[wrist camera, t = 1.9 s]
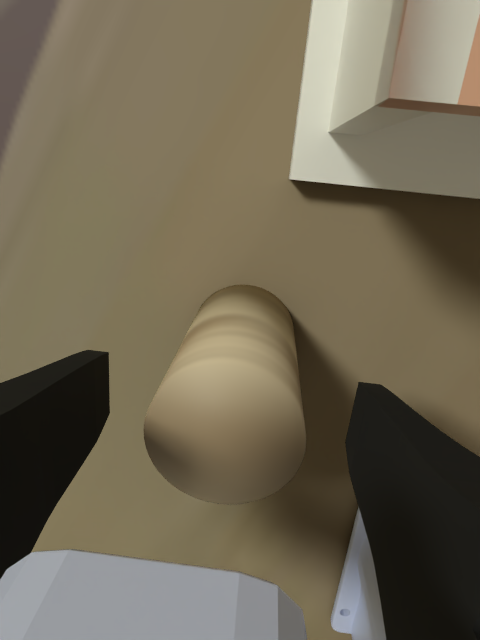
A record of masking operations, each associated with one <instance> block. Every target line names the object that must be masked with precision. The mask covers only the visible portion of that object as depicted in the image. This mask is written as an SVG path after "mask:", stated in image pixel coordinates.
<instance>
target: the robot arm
mask: <svg viewBox="0 0 480 640" xmlns="http://www.w3.org/2000/svg"><path fill="white" fill-rule="evenodd" d="M109 413H110V407H109V352H101V351H93V350H86V351H82V352H79V353H76V354H73V355H71V356H68V357H66V358H63V359H61V360H59V361H56V362H54V363H51V364H49V365H46V366H44V367H42V368H39V369H37V370H34V371H32V372H29V373H27V374H24V375H21V376H19V377H16V378H13V379H10V380H8V381H5V382H2V383H0V640H307V635H306V629H305V623H304V617H303V611H302V609H301V608H300V607H299V606H298V605H297V604H296V603H295V602H294V601H293V600H292V599H291V598H290V597H289V596H288V595H287V594H286V593H285V592H284V591H282V590H281V589H280V588H279V587H278V586H277V585H276V584H274V583H272V582H269V581H266V580H263V579H260V578H257V577H254V576H251V575H248V574H245V573H242V572H239V571H232V570H225V569H217V568H210V567H203V566H195V565H188V564H180V563H173V562H165V561H158V560H151V559H143V558H136V557H128V556H121V555H113V554H106V553H99V552H91V551H84V550H76V549H66V550H51V551H38V552H32V553H31V551H32V549H33V547H34V545H35V543H36V541H37V539H38V537H39V535H40V533H41V531H42V529H43V527H44V525H45V523H46V522H47V520H48V518H49V516H50V515H51V513H52V511H53V509H54V508H55V506H56V504H57V503H58V501H59V500H60V498H61V497H62V495H63V494H64V492H65V490H66V489H67V487H68V486H69V484H70V483H71V481H72V480H73V478H74V477H75V475H76V473H77V472H78V470H79V469H80V467H81V466H82V464H83V463H84V461H85V460H86V458H87V456H88V455H89V453H90V452H91V450H92V448H93V447H94V445H95V444H96V442H97V440H98V438H99V436H100V434H101V432H102V429H103V427H104V425H105V423H106V420H107V418H108V416H109ZM345 443H346V451H347V459H348V466H349V473H350V477H351V481H352V485H353V488H354V492H355V495H356V499H357V503H358V510H357V515H356V519H355V523H354V527H353V531H352V535H351V539H350V543H349V547H348V551H347V555H346V559H345V563H344V567H343V571H342V575H341V579H340V583H339V587H338V591H337V595H336V599H335V603H334V607H333V611H332V615H331V625H332V628H333V629H334V630H336V631H338V632H342V633H349V634H351V635H352V640H480V457H479V456H477V455H476V454H474V453H472V452H471V451H469V450H468V449H466V448H465V447H463V446H461V445H460V444H459V443H457V442H456V441H454V440H453V439H451V438H450V437H449V436H447V435H446V434H444V433H443V432H442V431H440V430H439V429H437V428H436V427H435V426H433V425H432V424H431V423H430V422H428V421H427V420H426V419H424V418H423V417H422V416H421V415H419V414H418V413H417V412H416V411H414V410H413V409H412V408H411V407H409V406H408V405H407V404H406V403H404V402H403V401H402V400H401V399H399V398H398V397H397V396H396V395H394V394H393V393H392V392H391V391H389V390H388V389H387V388H385V387H384V386H382V385H380V384H371V383H363V382H359V383H358V388H357V392H356V397H355V401H354V406H353V410H352V415H351V419H350V424H349V428H348V433H347V437H346V442H345Z"/></svg>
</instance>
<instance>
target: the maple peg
mask: <svg viewBox="0 0 480 640" xmlns="http://www.w3.org/2000/svg"><path fill="white" fill-rule="evenodd" d="M144 440H145V444H146V449H147V451H148V454H149V457H150V458H151V460H152V462H153V464H154V466H155V467H156V468H157V470H158V471H159V472H160V474H161V475H162V476H163V477H164V478H165V479H166V480H167V481H168V482H170V483H171V484H172V485H173V486H175V487H176V488H178V489H179V490H180V491H182V492H184V493H186V494H188V495H190V496H192V497H195V498H197V499H200V500H203V501H207V502H212V503H217V504H243V503H249V502H254V501H257V500H260V499H263V498H266V497H268V496H270V495H272V494H274V493H275V492H277V491H278V490H280V489H281V488H283V487H284V486H285V485H286V484H287V483H288V482H289V481H290V480H291V479H292V478H293V476H294V475H295V474H296V472H297V471H298V469H299V467H300V465H301V463H302V461H303V458H304V454H305V450H306V430H305V421H304V413H303V404H302V395H301V387H300V378H299V370H298V361H297V352H296V344H295V335H294V327H293V322H292V318H291V316H290V313H289V312H288V310H287V308H286V307H285V305H284V304H283V303H282V302H281V301H280V300H279V299H278V298H277V297H276V296H275V295H273V294H272V293H270V292H269V291H267V290H264V289H262V288H259V287H256V286H251V285H234V286H229V287H226V288H223V289H221V290H219V291H217V292H215V293H214V294H212V295H211V296H210V297H209V298H208V299H207V300H206V301H205V302H204V303H203V304H202V306H201V307H200V309H199V311H198V313H197V315H196V317H195V319H194V320H193V322H192V324H191V326H190V328H189V330H188V332H187V334H186V336H185V338H184V340H183V342H182V344H181V346H180V348H179V350H178V352H177V354H176V355H175V357H174V359H173V361H172V363H171V365H170V367H169V369H168V371H167V373H166V375H165V377H164V379H163V381H162V383H161V385H160V387H159V389H158V390H157V392H156V394H155V396H154V398H153V400H152V402H151V404H150V406H149V409H148V411H147V414H146V418H145V423H144Z"/></svg>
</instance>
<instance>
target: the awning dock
mask: <svg viewBox="0 0 480 640" xmlns="http://www.w3.org/2000/svg"><path fill="white" fill-rule="evenodd" d="M289 179H292V180H301V181H311V182H321V183H331V184H340V185H350V186H360V187H369V188H379V189H389V190H399V191H408V192H418V193H428V194H437V195H447V196H457V197H467V198H476V199H480V0H312V2H311V10H310V17H309V25H308V33H307V41H306V48H305V56H304V64H303V72H302V80H301V87H300V95H299V103H298V111H297V118H296V126H295V134H294V142H293V149H292V157H291V165H290V173H289Z"/></svg>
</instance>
